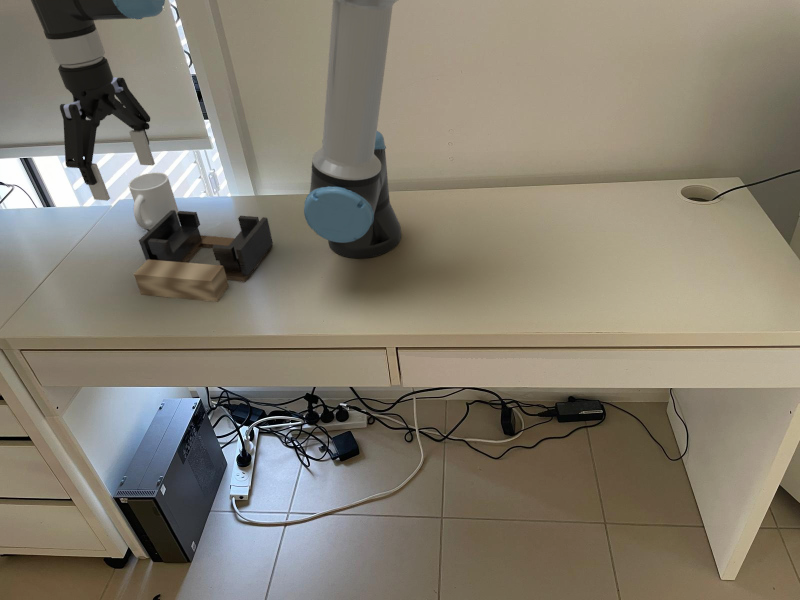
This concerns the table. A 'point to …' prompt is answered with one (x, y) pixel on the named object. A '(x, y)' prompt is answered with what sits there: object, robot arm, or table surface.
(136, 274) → the rail
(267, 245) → the brackets
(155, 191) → the mug
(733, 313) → the table surface
